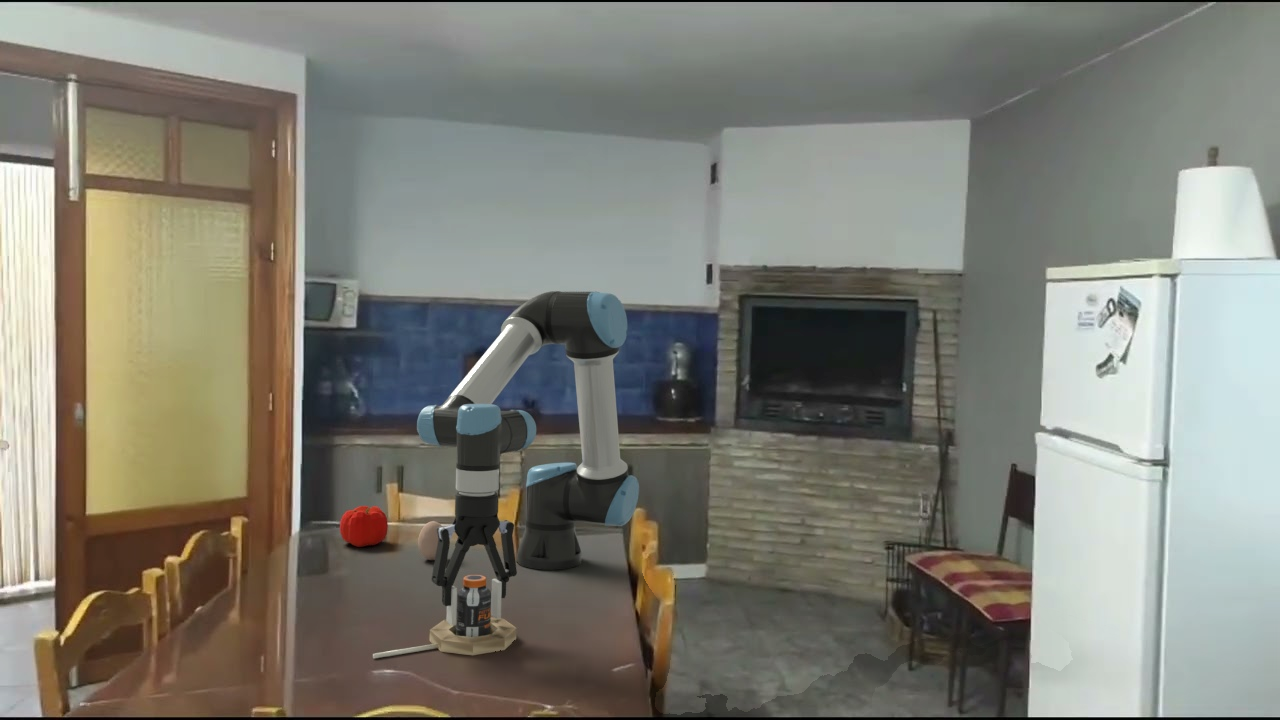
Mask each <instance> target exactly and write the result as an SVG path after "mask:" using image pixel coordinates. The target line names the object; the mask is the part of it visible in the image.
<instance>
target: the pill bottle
mask: <svg viewBox="0 0 1280 720" xmlns="http://www.w3.org/2000/svg"><path fill="white" fill-rule="evenodd" d="M462 582H463V583H462V585H463V587H461V588H460V589H459V590H457V604H456V618H457V620H456V621H457V622H456V635H458V636H467V637H478V636H484V635H490V621H491V617H492V615H491V594H492V590H490V589H489V588H488V587H487V577H486V576H484V575H481V574H468V575H466V576H464V577H463V581H462Z"/></svg>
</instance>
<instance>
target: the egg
mask: <svg viewBox="0 0 1280 720" xmlns="http://www.w3.org/2000/svg"><path fill="white" fill-rule="evenodd" d="M439 526H442V524H441V523H439V522H438V521H436V520H432V521H429V522H427V523H426V524H424V525H423V527H422V528H421V530H420V533H419V535H418V538H417V547H418V551H419V553H420V554H421V556H422V557H423V558H424V559H426V560H428V561H435V557H436V551H437V545H438V534H437V528H438V527H439Z"/></svg>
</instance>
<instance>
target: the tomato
mask: <svg viewBox="0 0 1280 720" xmlns="http://www.w3.org/2000/svg"><path fill="white" fill-rule="evenodd" d="M388 526H389V523H388V518H387V515H386V513H385V512H384V511H383V510H382V509H381V508H380V507H379V506H376V505H374V506H370V507H369V506H367V505H360V506H358V507H355V508H354V509H350V510H346V511H345V513H344V514H343V515H342V516H341V519H340V522H339V533H340V536H341V537H342V539H343V540H344V541H345V542H347V543H348V544H351V545H352V546H354V547H357V548H362V547H363V548H364V547H366V546H369V547H372V546H375V545H377V544H380V543H381V542H382V541H384V540H385V538H386V536H387V533H388ZM371 545H372V546H371Z"/></svg>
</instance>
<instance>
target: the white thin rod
mask: <svg viewBox="0 0 1280 720" xmlns="http://www.w3.org/2000/svg"><path fill="white" fill-rule="evenodd" d="M435 649H438V644H432V643H431V644H425V645H419V646H413V647H406V648H400V649H392V650H389V651H388V650H387V651H383V652H382V651H381V652H376V653H372V658H373V659H374V660H375V659H379V658H380V659H381V658H387V657H392V656H399V655H403V654H410V653H416V652H422V651H430V650H435Z"/></svg>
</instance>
